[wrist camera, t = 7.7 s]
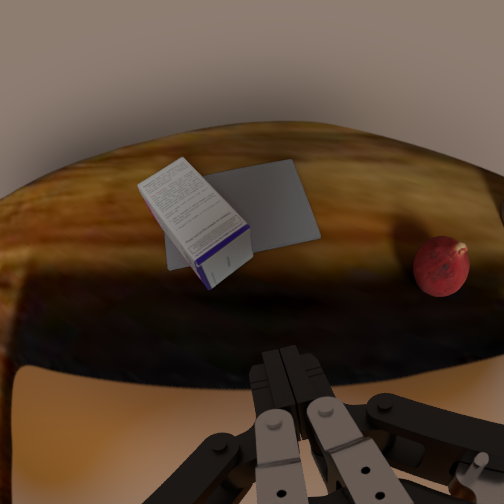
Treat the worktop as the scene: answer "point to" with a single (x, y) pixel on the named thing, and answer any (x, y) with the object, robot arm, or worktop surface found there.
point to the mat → (262, 206)
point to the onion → (441, 266)
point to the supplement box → (198, 221)
